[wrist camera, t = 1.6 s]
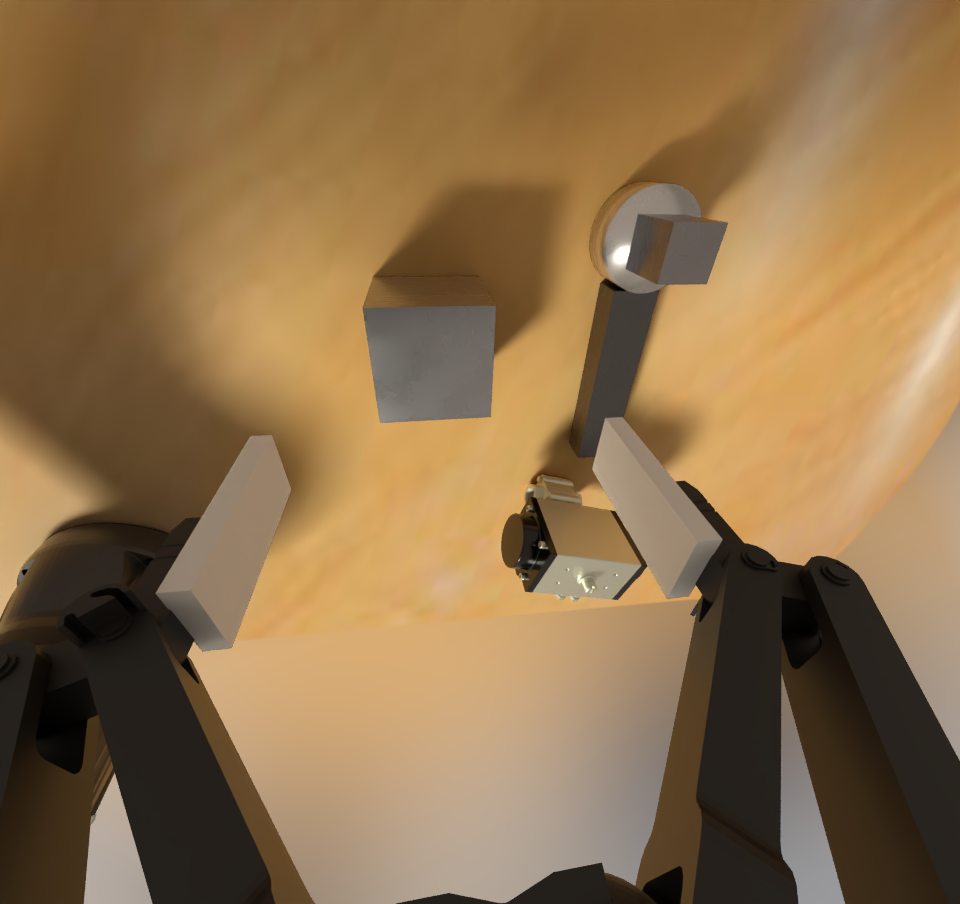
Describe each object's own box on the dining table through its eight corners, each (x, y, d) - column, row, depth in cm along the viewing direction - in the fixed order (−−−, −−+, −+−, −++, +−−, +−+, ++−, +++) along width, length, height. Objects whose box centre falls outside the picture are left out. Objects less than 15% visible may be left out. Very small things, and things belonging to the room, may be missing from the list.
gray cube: (385, 374, 30) (380, 422, 24) (373, 276, 26) (362, 307, 20) (476, 371, 31) (490, 417, 25) (478, 276, 26) (496, 305, 21)
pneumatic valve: (503, 459, 36) (536, 564, 27) (607, 480, 40) (669, 579, 30) (484, 501, 39) (507, 610, 30) (582, 517, 43) (631, 619, 33)
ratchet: (554, 443, 36) (581, 493, 30) (599, 180, 24) (655, 185, 19) (615, 439, 37) (652, 488, 31) (687, 183, 25) (767, 188, 19)
